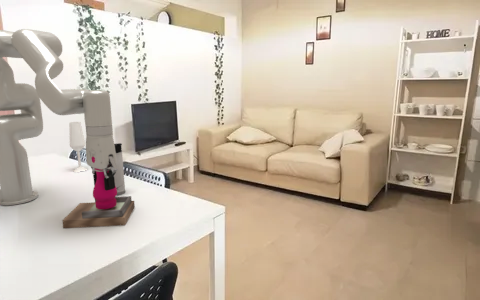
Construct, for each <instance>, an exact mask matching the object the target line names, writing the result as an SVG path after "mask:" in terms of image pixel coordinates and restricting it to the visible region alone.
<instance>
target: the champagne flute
mask: <svg viewBox="0 0 480 300" xmlns="http://www.w3.org/2000/svg"><path fill="white" fill-rule="evenodd" d="M69 147H70V148H71V149H72V150H74V152H76V155H77V163H78V166H77V167H76V168H75V169H73V171H74V172H73V173H81V172H80V171H84V172H86V171H85V170H87V169H88V168H86V167H83V166H82V161H81V151H82V150H83V149H84V148H85V147H86V140H85V138H84V132H83V127H82V123H81V121H70V122H69ZM87 171H88V170H87Z"/></svg>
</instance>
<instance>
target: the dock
mask: <svg viewBox="0 0 480 300" xmlns="http://www.w3.org/2000/svg"><path fill="white" fill-rule="evenodd" d="M115 199H116V203H117V204H116V206H115V207H113V208H109V209H97V208H96V204H95V202H96V201H97V200H96V199H95V198H94V202H80V203H78V204H77V205H76V206H75V207H74V208H73V209H72V210H71V211H70V212H69V213H68V214H67V215H66V216H65V217H64V218H63V219H62V220H61V221H62V223H61V224H62V228H63V229H72V228H73V229H74V228H78V229H79V228H92V227H93V228H95V227H97V228H98V227H111V226H112V227H113V226H126V224H127V222H128V221H129V219H130V217H131V216H132V213H133V211H134V210H135V200H132V199H133V198H132V196H131V195H130V196H129V195H126V196H115Z"/></svg>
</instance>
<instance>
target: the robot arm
mask: <svg viewBox="0 0 480 300" xmlns="http://www.w3.org/2000/svg"><path fill="white" fill-rule="evenodd" d="M62 54H63V44H62V42H61V39H60V38H59V37H58V35H57V36H56V35H55V34H53V33H52V32H48V31H42V30H37V29H36V30H35V29H29V28H22V29H18V30H16V31H9V30H3V29H0V112H7V111H8V112H9V111H20V112H21V113H8V114H0V205H1V206H14V205H21V204H25V203H28V202H31V201H33V200H36V199H37V198H38V197H39V193H38V192H37V191H35V190H33V185H32V184H33V183H32V177H31V170H30V164H29V163H30V162H29V157H28V152H27V149H26V148H25V147H24V146H23V145H22V144H21V143H20V141H22V140H25V139H26V140H27V139H32V138H33V139H34V138H36V137H39V136H40V135H41V134H42V133H43V131H44V119H43V111H42V105H41V102H42V103H43V104H44V106H46V107H47V109H49V110H50V111H51V112H52V113H53V114H55V115H57V116H69V115H76V114H78V115H81V114H82V115H84V123H85V134H86V135H85V136H86V138H85V157H86V159H85V160H86V164H87V166H89V167H90V168H91V173H92V175H93V176H92V177H93V185H94V186H95V184H96V180H97V174H96V171H95V170H94V169H95V168H97V169H100V170H103V171H104V175H105V178H104V185H105V190H110V189H114V188H115V179H114V176H115V173H116V171H117V170H118V167H117V165H116V151H115V145H114V144H115V141H114V137H113V136H114V133H113V132H114V131H113V119H112V110H111V109H112V108H111V106H112V105H111V95H110V93H109V92H108V91H107V90H102V89H101V90H99V89H95V90H94V89H93V90H91V89H88V88H87V89H85V88H83V89H81V88H79V89H75V88H72V89H71V88H70V89H60V88H59V87H58V86H57V85H56V84H55V82H54V81H53V80H54V79H55V78H58V77H59V75H60V74H62V72H63V69H64V63H63V61H62V59H61V58H60V56H61V55H62ZM4 58H11V59H23V61H24V62H25V63H26V64H27V65H28V67H30V69H31V70H32V71H33V72H34V74H35V78H34V85H35V87H34V86H33V85H32V84H29V83H22V82H21V83H19V82H17V83H16V81H15V74H14V71H13V69H12V67H11V66H10V64H9V62H8V61H6V60H5V59H4ZM92 156H93V157H94V158H95V163H93V162H92ZM108 165H110V167H108V168H107V166H108ZM108 169H110V170H109V172H107V170H108Z"/></svg>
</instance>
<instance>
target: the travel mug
mask: <svg viewBox="0 0 480 300" xmlns="http://www.w3.org/2000/svg"><path fill="white" fill-rule="evenodd" d="M114 145H115V151H116V165H117V167H118V170H117V171H116V173H115V176H114V179H115V186H116V189H117V195H116V196H121V195H123V194H125V193H126V185H125V184H126V182H125V170H124V161H123V158H124V157H123V149H122V146H123V143H121V142H120V143H118V142H117V143H114Z"/></svg>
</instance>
